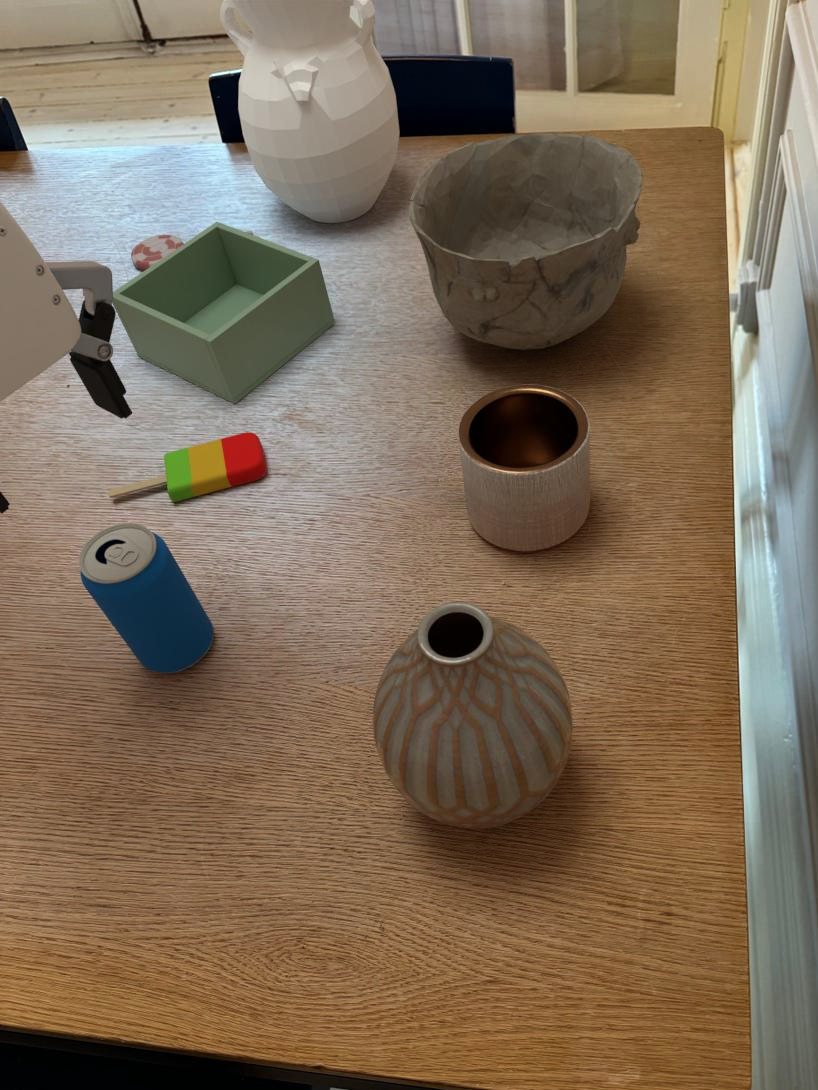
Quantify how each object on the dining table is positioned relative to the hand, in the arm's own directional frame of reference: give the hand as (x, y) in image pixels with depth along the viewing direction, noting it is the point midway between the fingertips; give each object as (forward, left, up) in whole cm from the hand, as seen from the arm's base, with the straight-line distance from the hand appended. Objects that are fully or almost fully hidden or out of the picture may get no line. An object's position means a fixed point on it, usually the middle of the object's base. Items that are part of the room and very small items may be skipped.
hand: (56, 454), depth 56 cm
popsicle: (-14, +14, -22) cm, 30 cm away
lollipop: (-44, +42, -22) cm, 65 cm away
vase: (+28, +5, -22) cm, 35 cm away
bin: (-26, +32, -22) cm, 47 cm away
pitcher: (-35, +59, -22) cm, 72 cm away
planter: (+16, +28, -22) cm, 39 cm away
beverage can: (0, 0, -22) cm, 22 cm away
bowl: (+1, +50, -22) cm, 54 cm away
